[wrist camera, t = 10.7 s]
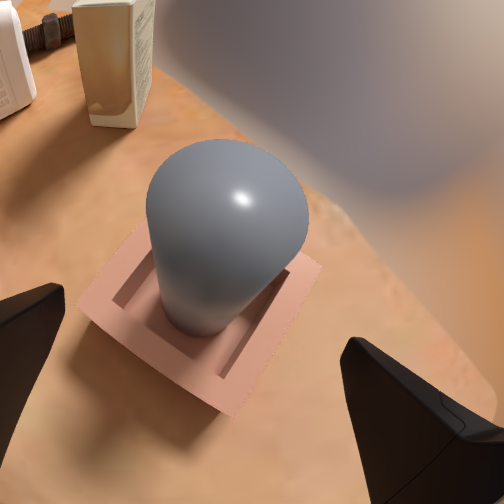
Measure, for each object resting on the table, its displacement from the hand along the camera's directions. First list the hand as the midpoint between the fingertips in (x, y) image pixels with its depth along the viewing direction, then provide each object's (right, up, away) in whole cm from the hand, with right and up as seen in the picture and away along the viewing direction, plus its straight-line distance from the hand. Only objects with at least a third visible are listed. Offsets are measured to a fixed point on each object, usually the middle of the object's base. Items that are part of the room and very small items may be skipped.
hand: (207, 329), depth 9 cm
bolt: (-25, +26, +17) cm, 40 cm away
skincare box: (-10, +15, +16) cm, 25 cm away
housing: (-2, -1, +11) cm, 12 cm away
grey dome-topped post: (-2, -1, +11) cm, 11 cm away
